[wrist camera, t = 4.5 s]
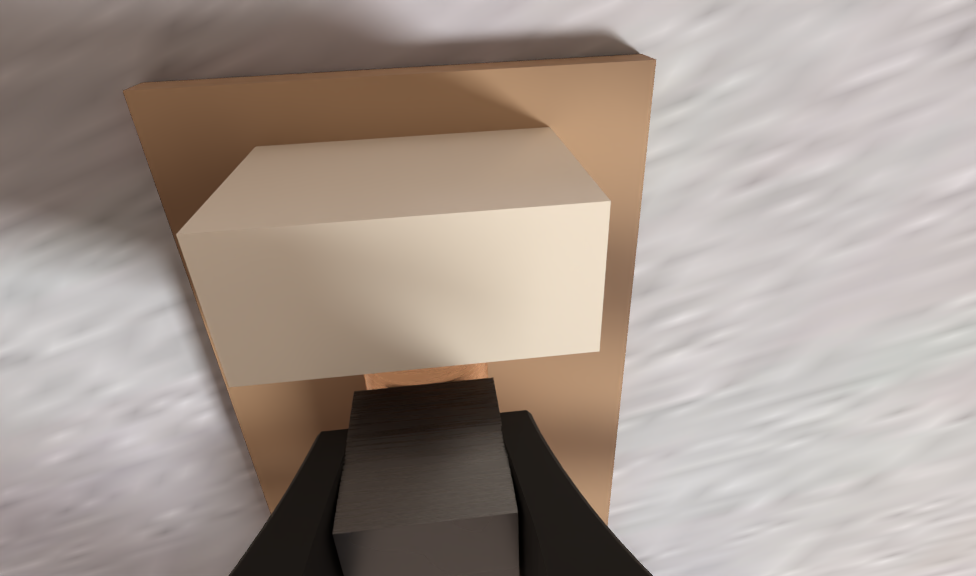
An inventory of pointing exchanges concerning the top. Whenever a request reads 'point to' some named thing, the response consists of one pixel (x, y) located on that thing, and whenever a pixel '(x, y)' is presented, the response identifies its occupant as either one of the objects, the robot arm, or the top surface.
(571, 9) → the top surface
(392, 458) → the brown piece
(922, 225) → the top surface
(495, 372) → the walnut board
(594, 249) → the cream rectangular block
